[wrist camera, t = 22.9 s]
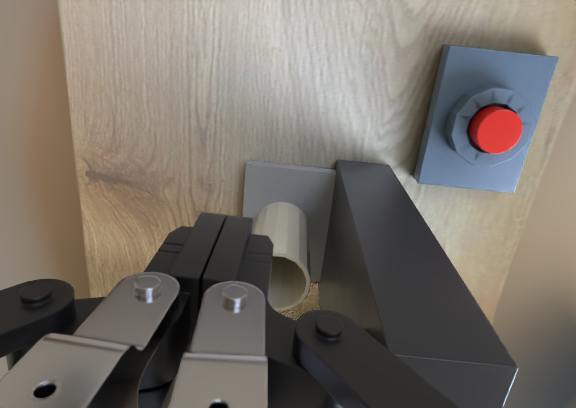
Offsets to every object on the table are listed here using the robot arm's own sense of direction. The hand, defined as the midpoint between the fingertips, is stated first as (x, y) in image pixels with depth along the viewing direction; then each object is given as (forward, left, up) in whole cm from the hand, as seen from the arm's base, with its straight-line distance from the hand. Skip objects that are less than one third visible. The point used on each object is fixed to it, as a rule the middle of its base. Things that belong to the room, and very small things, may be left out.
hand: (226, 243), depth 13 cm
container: (+12, +2, -26) cm, 29 cm away
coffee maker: (+12, +4, -27) cm, 30 cm away
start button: (0, +18, -24) cm, 30 cm away
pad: (0, +18, -28) cm, 33 cm away
